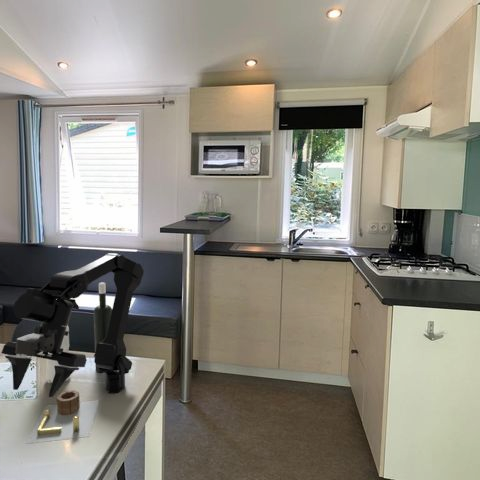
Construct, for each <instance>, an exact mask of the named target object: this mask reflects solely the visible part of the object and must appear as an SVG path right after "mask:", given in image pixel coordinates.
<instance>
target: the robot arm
mask: <svg viewBox="0 0 480 480" xmlns="http://www.w3.org/2000/svg"><path fill="white" fill-rule="evenodd" d="M144 272H145V271H144V268H143V266H142V265H141V263H137V262H136V261H133V260H131V259H128V258H126V257H125V256H124V255H123V254H121V253H112V252H108V253H106V254H105V255H104V256H102V257H100V258H97V259H95V260H94V261H91V262H90V263H88V264H86V265H84V266H82V267H80V268H78V269H74V270H66V271H61V272H57V273H55V274H53V275H52V276H51V277H50V280H49V281H48V282H47V283H46V284H45V285H43V286H42V287H41V288H40V289H37V288H31V287H27V289H26V292H25V293H23V294H21V295H20V296H19V297H18V298H17V300H15V302H14V305H13V314H14V316H15V318H18V319H21V320H27V321H33V322H40V323H41V324H40V326H38V325H36V327H35V328H34V330H33V332H32V333H29V334H25V335H23V336H20V337H17V338H16V341H15V342H14V341H7V342H6V343H5V344H4V345H3V346H2V350H1V352H0V353H1V354H2V355H5V356H4V357H5V359H7V360H8V361H9V363H10V364H11V370H12V388H13V390H14V391H17V390H18V389H20V387H21V384H22V383H23V380H24V377H25V376H26V373H27V371H28V369H29V366H30V364H31V361H32V359H33V358H31V357H34V358H40V359H45V360H46V359H50V360H55V361H57V362H58V364H59V365H60V366H54V368H55V376H54V379H53V382H52V383H51V385H50V389H49V393H48V397H49V398H53V397H54V396H55V395H56V393H57V392H58V391H59V390H60V388H61V387H62V386H63V384H64V383H65V382H67V381H66V379H67V378H68V377H69V376H70V377H71V375H72V374H73V373H75V371H79V370H80V368H85V367H86V364H87V357H86V354H83V353H78V352H71V351H68V352H63V349H62V348H61V345H62V341H63V338H64V335H65V336H67V335H68V331H66V328H67V325H68V326H69V321H70V317H71V315H72V311H73V310H79V308H80V306H79V305H78V303H77V301H76V298H79V297H80V296H81V295H83V293H85V292H86V291H87V290H88V287H89V286H90V284H91V283H93V282H95V281H96V280H99V279H100V278H102V277H104V276H105V275H107V274H109V273H112V274H113V282H114V285H115V288H116V289H115V290H116V291H115V295H114V301H113V304H112V307H111V308H112V313H111V317H110V322H109V326H108V331H107V335H106V338H105V339H104V340H103V341H102V342H101V343H98V344H97V346H96V352H95V351H94V355H93V357H94V364H95V367H96V366H97V368H98V370H99V371H104V372H105V373H104V380H105V382H104V385H105V386H104V388H105V390H106V392H108V394H119V393H120V392H121V391H122V390H124V389H125V387H126V374H129V373H130V370H131V369H132V365H133V361H132V360H130V359H129V358H127V347H126V344H125V342H124V336H125V332H126V327H127V322H128V318H129V313H130V310H131V309H130V308H131V303H132V299H133V296H134V295H133V294H134V292H135V291H136V290H137V288H138V287H139V286H140V285H141V283H142V279H143V276H144ZM64 326H66V327H64ZM48 352H49V353H51V354H48Z"/></svg>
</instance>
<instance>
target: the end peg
mask: <svg viewBox="0 0 480 480" xmlns="http://www.w3.org/2000/svg"><path fill="white" fill-rule="evenodd" d="M78 431H79V416H74V417H73V432H78Z"/></svg>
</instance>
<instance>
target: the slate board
mask: <svg viewBox="0 0 480 480" xmlns="http://www.w3.org/2000/svg"><path fill="white" fill-rule="evenodd" d="M99 404H100V400H92V401H91V400H90V401H82V402H80V407H79V410H78V411H76V412H75V413H73V414H70V415H61V414H59V413H58V411H57V404H49V405H46V406H45V407H44V409H43V410H42V413H41V414H40V416H39V418H38V420H37V422H36V424H35V426H34V428H33V430H31V433H30V436H29V437H28V439H27V441H26V442H25V444H26V445H28V444H29V445H30V444H35V443H36V444H37V443H46V442H53V441H56V442H57V441H62V440H70V439H72V440H73V439H81V438H89V437H90V436H91V431H92V428H93V425H94V421H95V418H96V415H97V411H98V407H99ZM47 409H50V418H49V419H48V420H47V422H46V424H45V426H44V428H43V429H46V428H56V427H61V430H62V432H61V433H56V434H47V435H38V436H37V430H38V428H39V426H40V425H41V423H42V421H43V419H44V417H45V410H47ZM74 416H79V431H78V432H73V417H74Z"/></svg>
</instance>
